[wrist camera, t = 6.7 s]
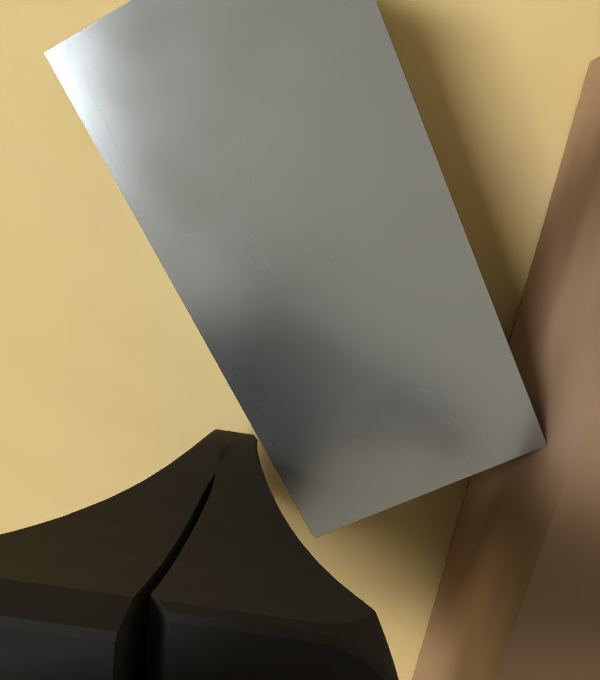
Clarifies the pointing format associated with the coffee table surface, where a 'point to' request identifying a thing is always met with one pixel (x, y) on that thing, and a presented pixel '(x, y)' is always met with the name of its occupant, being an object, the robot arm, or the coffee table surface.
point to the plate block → (307, 240)
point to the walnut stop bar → (539, 466)
